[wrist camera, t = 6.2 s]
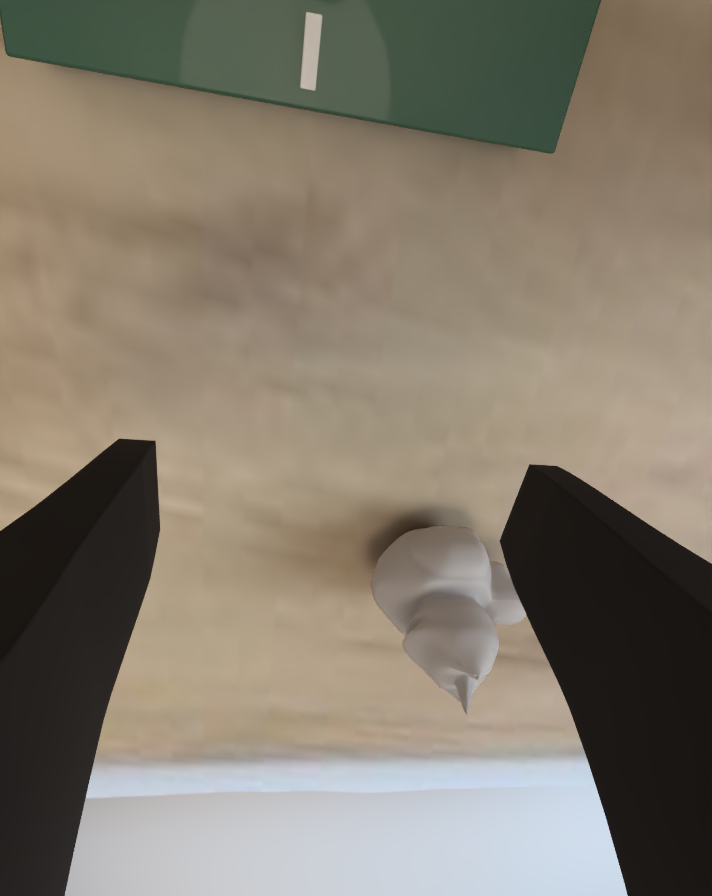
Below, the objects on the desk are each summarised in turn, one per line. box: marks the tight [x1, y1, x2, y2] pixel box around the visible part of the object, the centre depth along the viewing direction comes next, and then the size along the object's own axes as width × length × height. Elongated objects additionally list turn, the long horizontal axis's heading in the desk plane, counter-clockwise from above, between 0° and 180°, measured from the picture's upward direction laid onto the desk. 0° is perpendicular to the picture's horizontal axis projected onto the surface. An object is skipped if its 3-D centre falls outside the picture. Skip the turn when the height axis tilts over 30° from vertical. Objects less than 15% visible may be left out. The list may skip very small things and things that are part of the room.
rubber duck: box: [371, 526, 526, 715], centre depth 21 cm, size 5×7×8 cm
